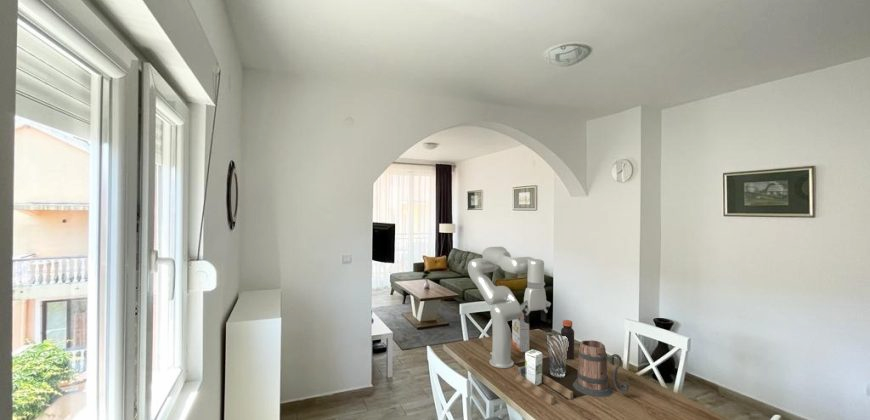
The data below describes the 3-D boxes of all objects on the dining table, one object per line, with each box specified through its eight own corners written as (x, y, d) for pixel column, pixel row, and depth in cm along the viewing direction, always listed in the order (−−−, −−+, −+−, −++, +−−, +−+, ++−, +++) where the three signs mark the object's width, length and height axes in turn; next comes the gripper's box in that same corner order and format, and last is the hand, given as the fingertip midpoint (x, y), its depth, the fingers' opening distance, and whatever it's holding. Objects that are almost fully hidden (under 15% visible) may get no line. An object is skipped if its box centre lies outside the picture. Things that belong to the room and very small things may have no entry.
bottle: (563, 354, 204) (563, 318, 204) (575, 357, 200) (575, 320, 200) (559, 357, 199) (559, 321, 199) (571, 361, 194) (571, 323, 195)
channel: (515, 380, 172) (515, 367, 172) (535, 375, 176) (535, 363, 177) (551, 404, 150) (551, 390, 150) (573, 398, 155) (573, 384, 155)
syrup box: (531, 379, 173) (531, 348, 173) (542, 383, 169) (542, 352, 169) (524, 382, 169) (524, 351, 169) (535, 387, 165) (535, 355, 165)
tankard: (566, 387, 164) (566, 343, 165) (581, 376, 177) (581, 334, 177) (622, 407, 148) (622, 358, 148) (634, 392, 160) (634, 347, 161)
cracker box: (511, 344, 220) (511, 309, 220) (521, 343, 220) (521, 309, 221) (519, 352, 206) (519, 316, 206) (529, 352, 206) (529, 315, 207)
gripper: (545, 282, 177) (544, 317, 178) (515, 285, 171) (515, 321, 171) (555, 285, 170) (555, 322, 171) (525, 288, 164) (524, 326, 164)
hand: (535, 321), depth 171 cm, fingers open, 9 cm apart
